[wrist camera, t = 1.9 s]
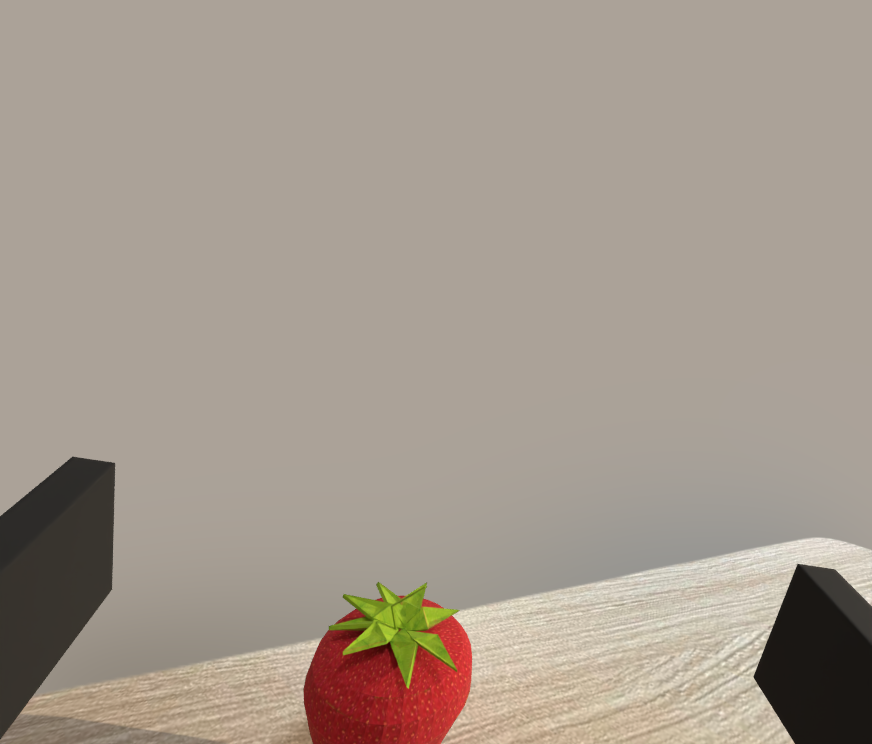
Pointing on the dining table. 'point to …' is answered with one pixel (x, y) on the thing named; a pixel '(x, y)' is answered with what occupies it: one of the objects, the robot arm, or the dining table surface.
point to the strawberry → (389, 673)
